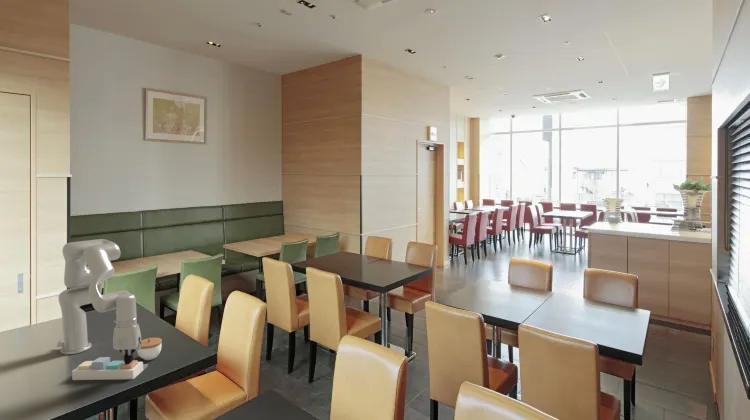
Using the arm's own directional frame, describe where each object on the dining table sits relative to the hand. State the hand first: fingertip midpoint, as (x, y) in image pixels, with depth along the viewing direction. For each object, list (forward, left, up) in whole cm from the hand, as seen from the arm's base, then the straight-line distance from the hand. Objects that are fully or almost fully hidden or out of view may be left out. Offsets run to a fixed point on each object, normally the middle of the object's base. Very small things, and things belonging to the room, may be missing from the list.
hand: (128, 362), depth 173 cm
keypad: (-9, +2, -6) cm, 11 cm away
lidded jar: (0, +17, -6) cm, 18 cm away
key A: (0, 0, -5) cm, 5 cm away
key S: (-12, 0, -4) cm, 12 cm away
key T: (-6, 0, -5) cm, 8 cm away
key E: (-18, 0, -5) cm, 19 cm away
